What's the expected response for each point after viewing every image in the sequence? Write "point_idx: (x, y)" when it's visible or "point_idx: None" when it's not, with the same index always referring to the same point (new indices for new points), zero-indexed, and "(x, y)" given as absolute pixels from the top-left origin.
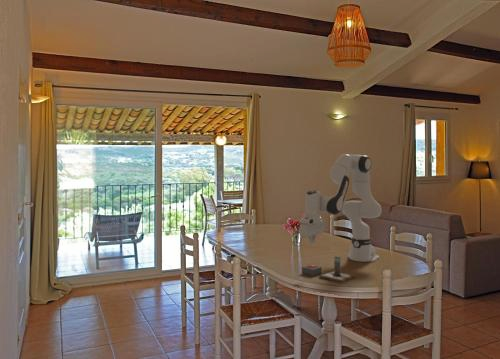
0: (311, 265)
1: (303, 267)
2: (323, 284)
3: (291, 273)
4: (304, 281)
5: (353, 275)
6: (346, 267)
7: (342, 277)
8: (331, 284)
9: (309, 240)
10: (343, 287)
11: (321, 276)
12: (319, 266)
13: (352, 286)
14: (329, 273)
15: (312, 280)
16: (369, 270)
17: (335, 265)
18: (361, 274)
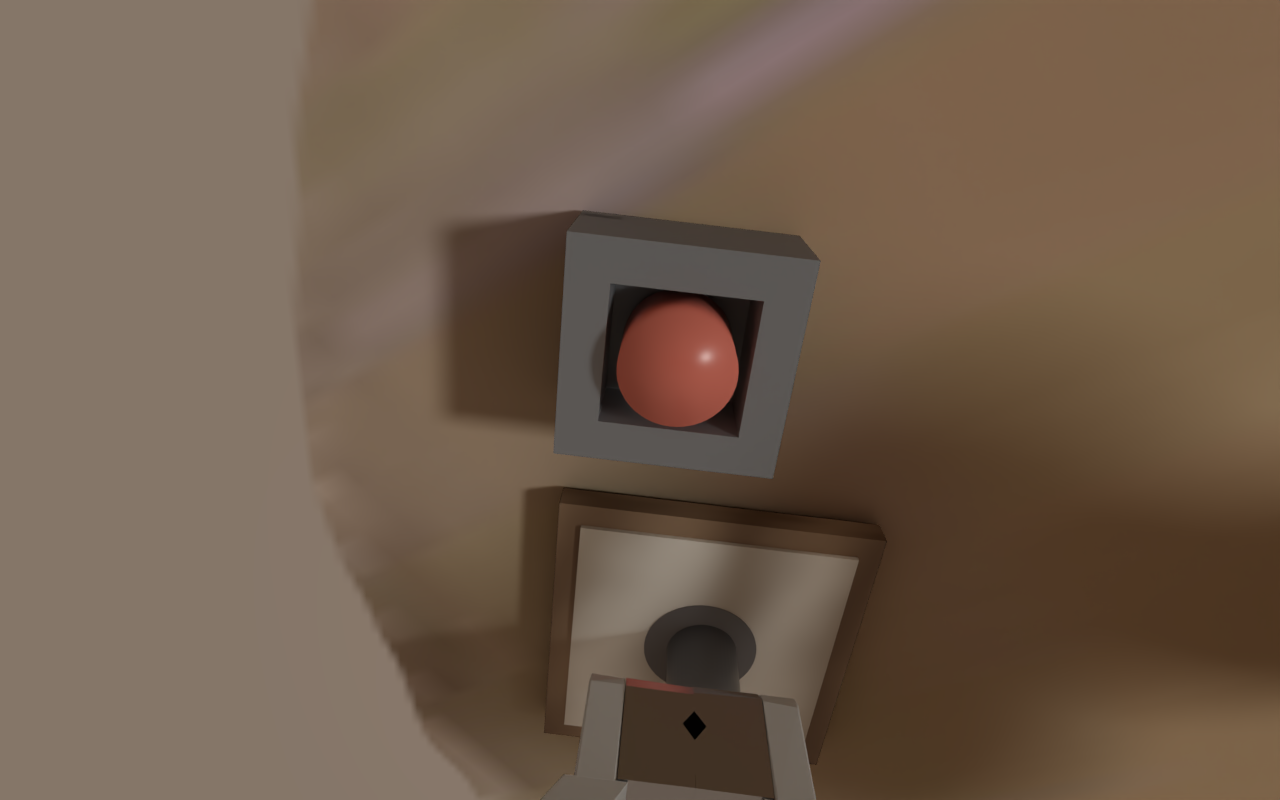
0: (681, 364)
1: (565, 260)
2: (388, 604)
3: (502, 38)
4: (316, 406)
5: (814, 757)
6: (1277, 546)
7: None
8: (449, 657)
9: (582, 739)
10: (448, 755)
11: (558, 526)
12: (776, 446)
13: (532, 795)
14: (723, 561)
15: (424, 460)
16: (1215, 765)
17: None
18: (994, 751)
